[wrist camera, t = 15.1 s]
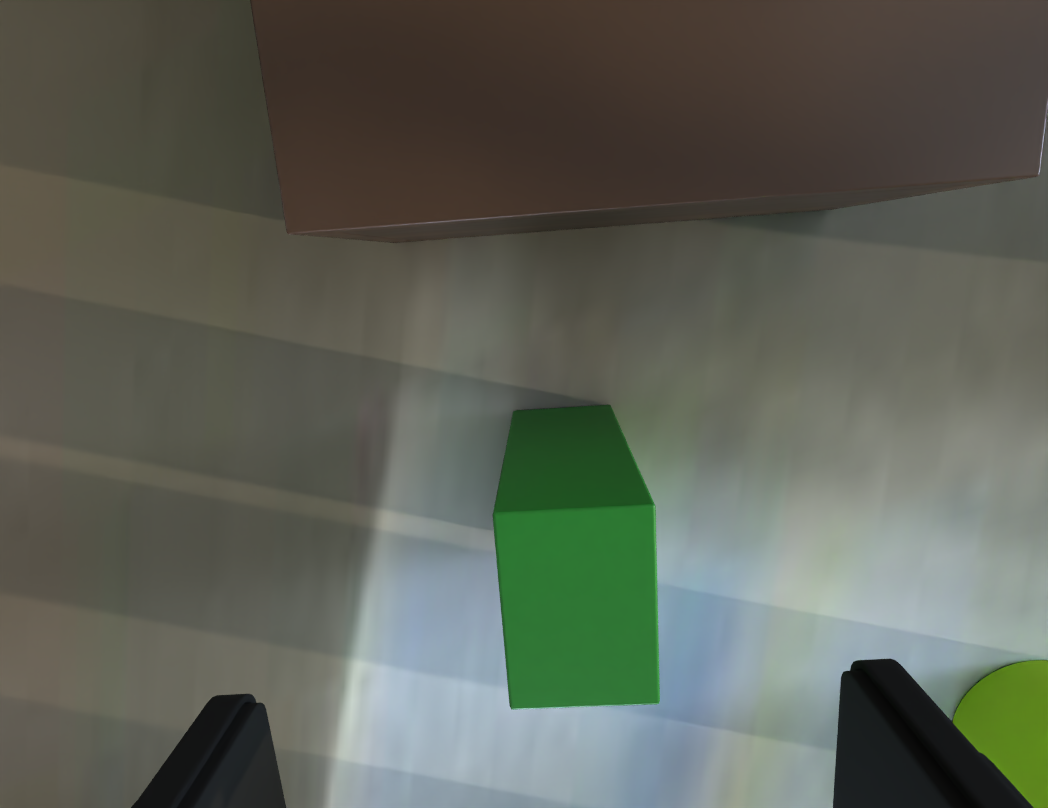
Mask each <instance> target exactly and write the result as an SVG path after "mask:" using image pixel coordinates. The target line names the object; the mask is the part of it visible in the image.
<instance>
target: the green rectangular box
mask: <svg viewBox="0 0 1048 808" xmlns="http://www.w3.org/2000/svg"><path fill="white" fill-rule="evenodd" d="M493 525H494V536H495V547H496V558H497V569H498V580H499V592H500V603H501V614H502V625H503V636H504V647H505V658H506V669H507V680H508V692H509V703H510V707H511V709H513V710H518V709H545V708H571V707H598V706H624V705H651V704H659V701H660V687H659V642H658V598H657V553H656V508H655V504H654V502H653V500H652V498H651V495H650V493H649V491H648V489H647V486H646V484H645V482H644V480H643V477H642V475H641V473H640V471H639V468H638V466H637V464H636V462H635V459H634V457H633V455H632V453H631V450H630V448H629V446H628V444H627V441H626V439H625V437H624V435H623V432H622V430H621V428H620V426H619V423H618V421H617V419H616V417H615V414H614V412H613V410H612V408H611V406H610V405H598V406H582V407H565V408H549V409H533V410H517V411H513V415H512V420H511V425H510V430H509V435H508V440H507V445H506V450H505V455H504V460H503V466H502V471H501V476H500V481H499V486H498V491H497V496H496V501H495V506H494V511H493Z"/></svg>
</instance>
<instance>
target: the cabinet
mask: <svg viewBox="0 0 1048 808" xmlns="http://www.w3.org/2000/svg"><path fill="white" fill-rule="evenodd" d="M250 2H251V8H252V14H253V21H254V27H255V33H256V40H257V46H258V53H259V59H260V65H261V72H262V78H263V84H264V91H265V97H266V103H267V110H268V116H269V122H270V129H271V135H272V142H273V148H274V154H275V161H276V167H277V173H278V180H279V186H280V192H281V199H282V205H283V211H284V218H285V224H286V231H287V233H288V234H291V235H308V236H319V237H331V238H343V239H355V240H367V241H378V242H390V243H397V242H410V241H423V240H437V239H450V238H463V237H476V236H490V235H503V234H516V233H529V232H542V231H556V230H569V229H582V228H595V227H609V226H622V225H635V224H648V223H661V222H675V221H688V220H701V219H714V218H728V217H741V216H754V215H767V214H780V213H794V212H807V211H820V210H832V209H838V208H844V207H850V206H857V205H863V204H869V203H875V202H882V201H888V200H894V199H900V198H906V197H913V196H919V195H925V194H931V193H938V192H944V191H950V190H956V189H962V188H969V187H975V186H981V185H987V184H994V183H1000V182H1006V181H1013V180H1020V179H1026V178H1032V177H1037V176H1039V174H1040V168H1041V160H1042V151H1043V143H1044V135H1045V126H1046V118H1047V110H1048V0H250Z"/></svg>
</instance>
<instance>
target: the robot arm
mask: <svg viewBox="0 0 1048 808" xmlns="http://www.w3.org/2000/svg"><path fill="white" fill-rule="evenodd" d="M131 808H286V804H285V799H284V795H283V790H282V785H281V780H280V775H279V770H278V765H277V761H276V756H275V751H274V746H273V741H272V736H271V731H270V726H269V722H268V717H267V712H266V708H265V706H264V704H263V703H256V700H255V698H254V696H253V695H251V694H236V695H217V696H215V697H212V698H211V699H210V700H209V702H208V703H207V704H206V705H205V707H204V708H203V710H202V711H201V712H200V714H199V715H198V717H197V718H196V719H195V721H194V722H193V724H192V725H191V726H190V728H189V729H188V731H187V732H186V733H185V735H184V736H183V738H182V739H181V740H180V742H179V743H178V745H177V746H176V747H175V749H174V750H173V752H172V753H171V754H170V756H169V757H168V758H167V760H166V761H165V763H164V764H163V765H162V767H161V768H160V770H159V771H158V772H157V774H156V775H155V777H154V778H153V779H152V781H151V782H150V784H149V785H148V786H147V788H146V789H145V791H144V792H143V793H142V795H141V796H140V798H139V799H138V800H137V801H136V802H135V803H134V805H133V806H132V807H131ZM833 808H1034V807H1033V806H1032V805H1031V804H1030V803H1029V802H1028V801H1027V800H1026V799H1025V797H1024V796H1023V795H1022V794H1021V793H1020V792H1019V791H1018V790H1017V789H1016V787H1015V786H1014V785H1013V784H1012V783H1011V782H1010V781H1009V780H1008V779H1007V778H1006V776H1005V775H1004V774H1003V773H1002V772H1001V771H1000V770H999V769H998V768H997V767H996V765H995V764H994V763H993V762H992V761H991V760H989V759H988V758H987V757H986V756H985V755H984V754H982V753H980V752H978V751H977V749H976V748H975V747H974V746H973V745H972V744H971V743H970V742H969V741H968V739H967V738H966V737H965V736H964V735H963V734H962V733H961V732H960V731H959V729H958V728H957V727H956V726H955V725H954V724H953V723H952V722H951V720H950V719H949V718H948V717H947V716H946V715H945V714H944V713H943V712H942V710H941V709H940V708H939V707H938V706H937V705H936V704H935V703H934V702H933V700H932V699H931V698H930V697H929V696H928V695H927V694H926V693H925V691H924V690H923V689H922V688H921V687H920V686H919V685H918V684H917V683H916V681H915V680H914V679H913V678H912V677H911V676H910V675H909V674H908V673H907V671H906V670H905V669H904V668H903V667H902V666H901V665H900V664H899V663H898V662H897V661H896V660H893V659H876V660H858V661H854V662H853V664H852V665H851V670H850V671H845V672H843V674H842V677H841V688H840V704H839V720H838V735H837V751H836V767H835V783H834V799H833Z"/></svg>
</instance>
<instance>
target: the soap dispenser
mask: <svg viewBox="0 0 1048 808" xmlns="http://www.w3.org/2000/svg"><path fill="white" fill-rule="evenodd" d="M952 723H953V724H954V725H955V726H956V727H957V728H958V729H959V731H960V732H961V733H962V734H963V735H964V736H965V737H966V738H967V739H968V741H969V742H970V743H971V744H972V745H973V746H974V747H975V748H976V749H977V751H978V752H980V753H982V754H984V755H985V756H986V757H987V758H988V759H989V760H991V761H992V762H993V763H994V764H995V765H996V767H997V768H998V769H999V770H1000V771H1001V772H1002V773H1003V774H1004V775H1005V776H1006V778H1007V779H1008V780H1009V781H1010V782H1011V783H1012V784H1013V785H1014V786H1015V787H1016V789H1017V790H1018V791H1019V792H1020V793H1021V794H1022V795H1023V796H1024V797H1025V799H1026V800H1027V801H1028V802H1029V803H1030V804H1031V805H1032V806H1033V807H1034V808H1048V661H1047V660H1034V661H1025V662H1020V663H1016V664H1012V665H1009V666H1006V667H1004V668H1001V669H999V670H997V671H995V672H993V673H991V674H990V675H988V676H986V677H985V678H983V679H982V680H981V681H979V682H978V683H977V684H976V685H975V686H974V687H972V689H971V690H970V691H969V692H968V693H967V694H966V695H965V697H964V698H963V699H962V701H961V702H960V704H959V706H958V708H957V710H956V712H955V715H954V718H953V722H952Z"/></svg>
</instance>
